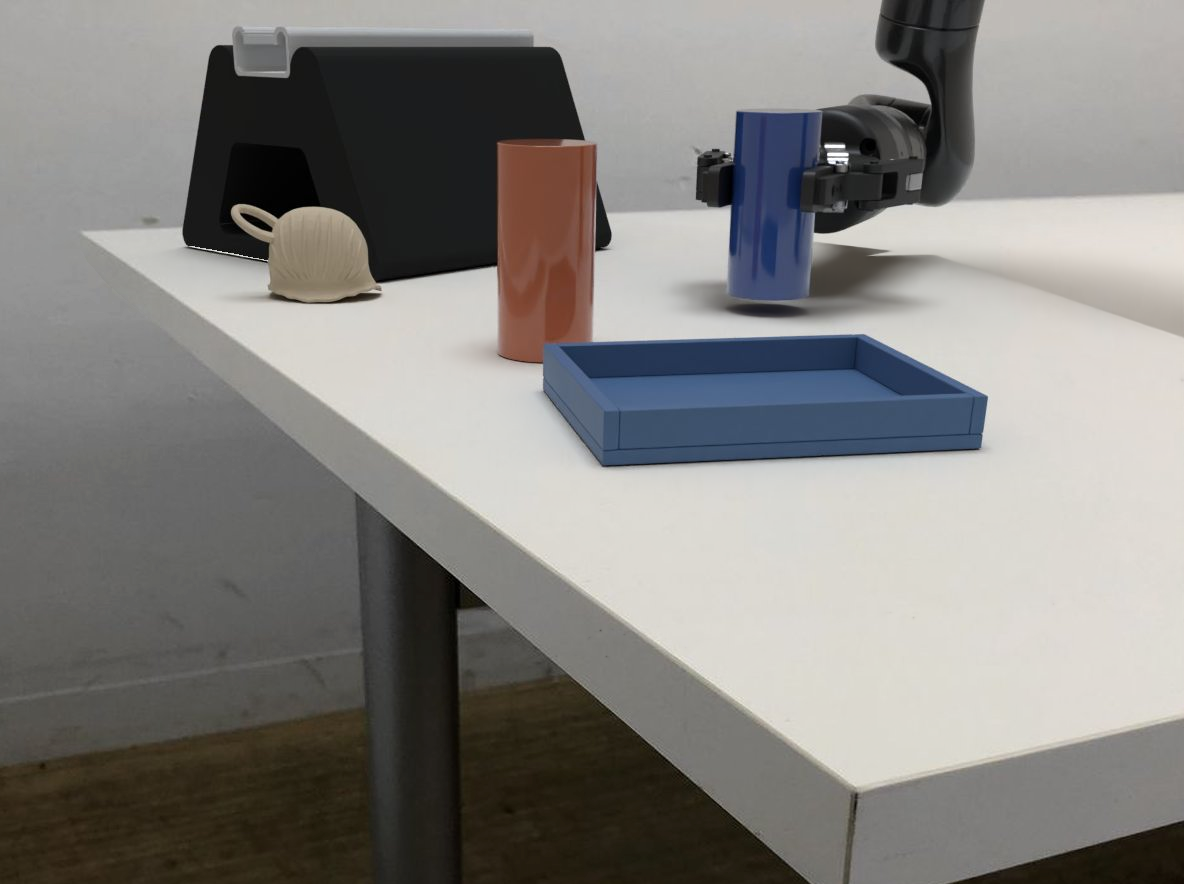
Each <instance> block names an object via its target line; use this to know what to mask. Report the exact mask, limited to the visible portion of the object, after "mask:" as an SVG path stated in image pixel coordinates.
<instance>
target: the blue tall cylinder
mask: <svg viewBox="0 0 1184 884" xmlns="http://www.w3.org/2000/svg"><path fill="white" fill-rule="evenodd" d="M734 116H735V117H734V135H733V155H732V156H733V172H732V191H731V205H730V212H729V231H728V250H727V251H728V253H727V268H726V269H727V271H726V289H725V292H726V295H728V296H730V297H734V298H738V299H744V300H753V301H769V302H771V301H794V300H799V299H800V300H801V299H805V298H807V297H808V296H809V295H810V290H811V289H810V288H811V277H812V266H813V265H812V263H813V250H814V247H813V246H814V237H815V233H814V225H815V213H807V212H801V210H800V199H801V186H802V176H803V173H804V171H805V170H808V169H811V168H815V167H819V158H820V145H821V132H822V119H823V111H821V110H816V109H810V108H809V109H808V108H743V109H736V110H735V115H734Z"/></svg>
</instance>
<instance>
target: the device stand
mask: <svg viewBox="0 0 1184 884" xmlns="http://www.w3.org/2000/svg"><path fill="white" fill-rule="evenodd" d="M231 37H232V44H216V45H214V46H213V48H212V49H211V50H210V53H209V56H208V60H207V68H206V73H205V79H204V86H203V93H202V99H201V106H200V113H199V119H198V125H197V132H196V139H195V145H194V152H193V159H192V164H191V172H190V178H189V185H188V191H187V198H186V204H185V210H184V211H185V212H184V216H183V224H182V229H181V230H182V232H181V235H182V240H183V242H184V244H185V245H186V246H187V245H188V246H195V247H200V248H206V249H212V250H217V251H222V252H228V253H234V254H239V255H243V256H248V257H253V258H259V259H264V260H268V259H269V246H270V243H268V242H265V241H262V240H260V239H258V238H256V237H254V236H252V235H250V234H249V233H247V232H246V231H244V230H243V229H242V228H241V227H239V226H238V225H237V223H236V222H235V221H234V220H233V218H232V215H231V210H232V208H233V207H234V206H235V205H238V204H245V205H251V206H254V207H257V208H259V209H261V210H264V211H266V212H268V213H269V214H271V215H273V216H274V217H276V218H277V219H280V218H281V217H282V216H283V215H284V214H286V213H287V212H289V211H291V210H293V209H297V208H302V207H324V208H329V209H334V210H336V211H339V212H341V213H343V214H345V215H346V216H348V217H349V218H350V219H352V220H353V221H354V222H355V223H356V225H357V226H358V228H359V229H360V231H361V233H362V235H363V237H364V239H365V241H366V244H367V249H368V265H369V270H370V273H371V275H372V278H373V279H374V281H375V282H377V281H383V280H391V279H398V278H405V276H406V277H413V276H417V275H426V274H433V273H439V271H440V272H445V271H446V270H447V271H452V269H453V270H459V269H466V268H474V267H479V266H480V267H481V266H487V265H494V264H497V142H499V141H504V140H517V139H567V140H583V141H586V139H585V134H584V130H583V128H582V125H581V121H580V117H579V114H578V109H577V107H576V103H575V101H574V100H575V99H574V97H573V92H572V90H571V85H570V83H569V79H568V75H567V72H566V68H565V65H564V61H563V58H562V56H561V54H560V52H559V51H558V50H557V49H555V48H554V47H552V46H535V44H534V43H535V42H534V41H535V39H534V38H535V37H534V33H533V32H532V30H530V29H519V28H517V29H516V28H515V29H513V28H512V29H511V28H510V29H509V28H507V29H506V28H431V27H429V28H426V27H423V28H422V27H421V28H420V27H419V28H418V27H345V26H344V27H341V26H339V27H338V26H336V27H335V26H331V27H330V26H235V27H234V28H232V33H231ZM240 215H241V216H242V217H243V219H244V220H246V221H247V222H248V223H250V224H251V225H253V226H255V227H257V228H259V229H261V230H264V231H267V232H271V233H272V230H273V228H272V227H271V226H270V225H268V224H267V223H266V222H264V221H262V220H261V219H259V218H257V217H255V216H252V215H250V214H246V213H240ZM612 236H613V233H612V228H611V225H610V221H609V218H608V215H607V211H606V208H605V204H604V201H603V197H602V194H601V190H600V186H599V183H598V182H597V185H596V230H595V250H597V249H604V248H607V247H608V246H609V245H610V244H611V241H612ZM188 246H187V247H188ZM447 271H446V272H447ZM432 272H433V273H432ZM425 273H426V274H425Z"/></svg>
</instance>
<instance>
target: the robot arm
mask: <svg viewBox="0 0 1184 884" xmlns="http://www.w3.org/2000/svg"><path fill="white" fill-rule="evenodd" d="M985 1H986V0H881V4H880V8H879V14H878V19H877V24H876V29H875V30H876V31H875V37H874V49H875V52H876V54H877V56H878V57H879V59H880V60H882V61H883V62H885V63H886V64H888V65H890V66H892V67H894V68H896V69H898V70H900V71H903V72H906V74H909V75H911V76H912V77H914V78H916V79H917V80H919V81H920V82H921V83H922V84H923V86H924V88H925V89H926V92H927V95H928V97H929V101H930V103H925V102H919V101H915V100H910V99H905V98H898V97H895V96H887V95H882V94H872V93H864V94H859V95H857V96H855V97H853V98H851V100H850V101H848V103H847V104H843V105H835V106H828V107H822V108H817V109H815V110H821V111H823V119H822V132H821V145H820V158H819V167H815V168H811V169H808V170H805V171H804V173H803V176H802V186H801V199H800V210H801V212H807V213H815V225H814V234H821V235H826V234H834V233H839V232H842V231H844V230H847V229H849V228H852V227H855V226H858V225H859V224H861V223H864V222H866V221H869V220H871V219H873V218H875V217H877V216H878V215H880V214H882V213H883V212H884V211H885V210H886V209H889V208H895V207H901V206H912V205H916V206H920V207H926V208H940V207H943V206H946V205H947V204H949V203H951V202H952V201H954V200H955V199H956V198H957V197H958V196H959V195H960V193H961V192H962V191H963V190H964V188H965V187H966V186H967V184H968V182H969V179H970V177H971V174H972V171H973V168H974V163H975V158H976V157H975V156H976V128H975V127H976V125H975V113H974V94H973V93H974V91H973V89H974V64H975V63H974V62H975V61H974V60H975V51H976V43H977V37H978V33H979V29H980V24H981V20H982V16H983V11H984V7H985ZM696 160H697V162H696V178H695V179H696V180H695V181H696V183H695V200H696V201H700V202H701V203H704V204H706V205H707V207H708V208H718V209H719V208H724V207H728V206H731V191H732V172H733V155H732V153H731V152H726V151H725V150H721V149H720V148H711V150H706V151H704V152H702V154H700V155H698V156H697V159H696Z"/></svg>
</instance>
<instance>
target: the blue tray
mask: <svg viewBox="0 0 1184 884" xmlns="http://www.w3.org/2000/svg"><path fill="white" fill-rule="evenodd" d="M542 377H543V378H542V390H543V391H544V393H545V394H546V396H547V397H548V398H549V400H550V401H552V403H553V404H554V405H555V406H556V408H557V409H558V410H559V412H560V413H561V414H562V416H563V417H564V418H565V419H566V421H567V423H569V424H570V425H571V427H572V428H573V429H574V431H575V432H576V433H577V435H578V436H579V437H580V438H581V440H582V441H583V443H585V445H586V446H587V447H588V448H589V450H590V451H591V452H592V453H593V455H594V456H595V457H596V458H597V460H598V461H599V462H600V464H601V465H602V466H623V465H644V464H665V463H668V464H669V463H689V462H710V461H729V460H730V461H732V460H733V461H734V460H736V461H737V460H754V459H776V458H777V459H778V458H780V459H781V458H799V457H820V456H822V455H823V456H843V455H865V454H866V455H867V454H886V453H888V454H889V453H907V452H909V453H910V452H911V453H912V452H929V451H932V452H933V451H950V450H952V451H953V450H974V449H975V450H976V449H981V448H982V444H983V438H984V437H983V436H984V434H983V433H984V431H985V422H986V416H987V407H988V401H989V396H988V395H987V394H984V393H983V392H980V391H979V390H976V389H974V388H972V387H970V386H969V385H966V384H965V383H962V382H960V381H958V380H956V379H955V378H953V377H951V376H949V375H947V374H945V373H943V372H941V371H939V370H937V369H935V368H932V367H931V366H929V365H927V364H925V363H923V362H921V361H919V360H917V359H915V358H914V357H911V356H909V355H907V354H905V353H903V352H901V351H899V350H897V349H895V348H893V347H891V346H890V345H888V344H885V343H883V342H881V341H879V340H877V339H876V338H873V337H871V336H870V335H867V334H865V333H860V334H859V333H857V334H856V333H855V334H853V333H851V334H850V333H849V334H819V335H818V334H816V335H788V336H787V335H786V336H781V335H780V336H755V337H753V336H751V337H750V336H749V337H747V336H746V337H721V338H719V337H718V338H716V337H715V338H714V337H713V338H686V339H685V338H683V339H653V340H651V339H650V340H648V339H647V340H621V341H620V340H619V341H616V340H615V341H593V342H580V343H557V344H556V343H546V344H543V363H542Z"/></svg>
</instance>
